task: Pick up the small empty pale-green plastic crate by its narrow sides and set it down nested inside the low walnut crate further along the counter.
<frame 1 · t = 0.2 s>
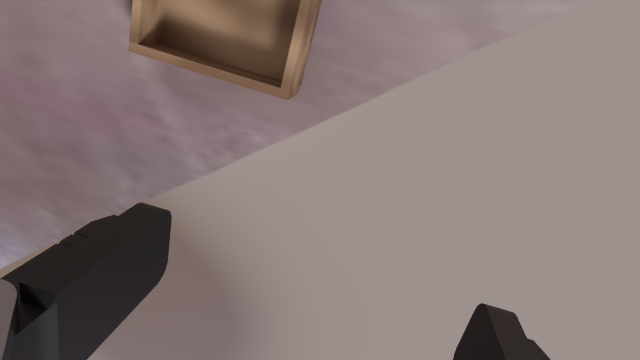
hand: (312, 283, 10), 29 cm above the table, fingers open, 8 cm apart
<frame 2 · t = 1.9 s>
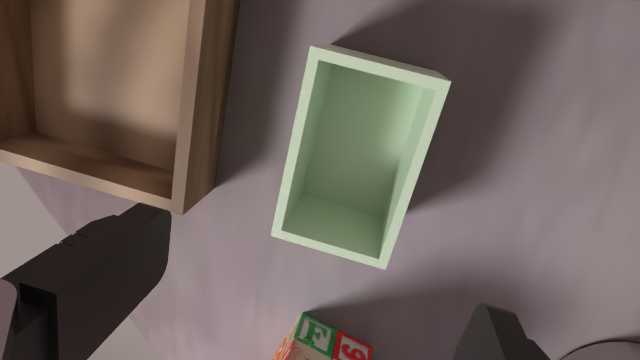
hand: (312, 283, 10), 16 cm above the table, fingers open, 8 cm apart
big crate: (127, 59, 25), on the table
small crate: (360, 138, 24), on the table
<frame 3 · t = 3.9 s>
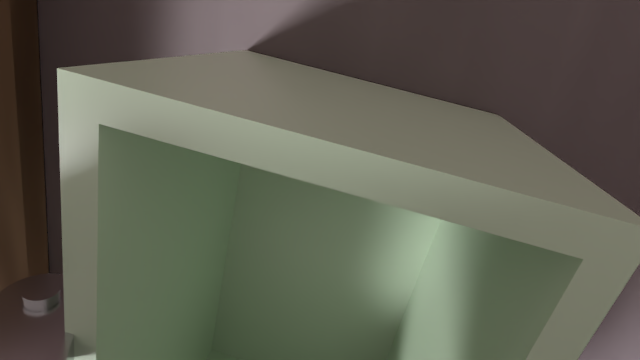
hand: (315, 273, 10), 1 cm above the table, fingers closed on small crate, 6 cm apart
small crate: (323, 251, 11), on the table, touching gripper
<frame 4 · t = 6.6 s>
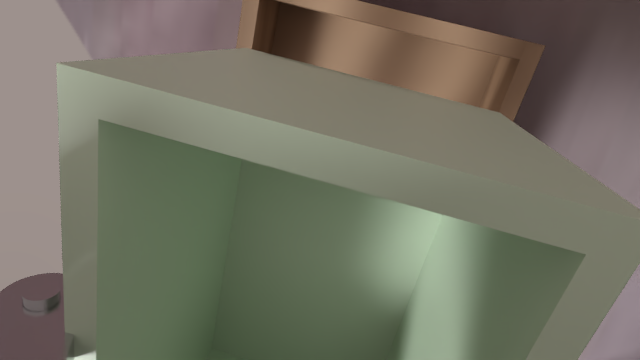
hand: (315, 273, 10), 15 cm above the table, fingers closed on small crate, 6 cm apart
big crate: (357, 136, 25), on the table
small crate: (323, 249, 11), point 14 cm above the table, touching gripper
when the fingers open (4 cm above the table, at t = 9.6 s): small crate drops 2 cm, resting on big crate.
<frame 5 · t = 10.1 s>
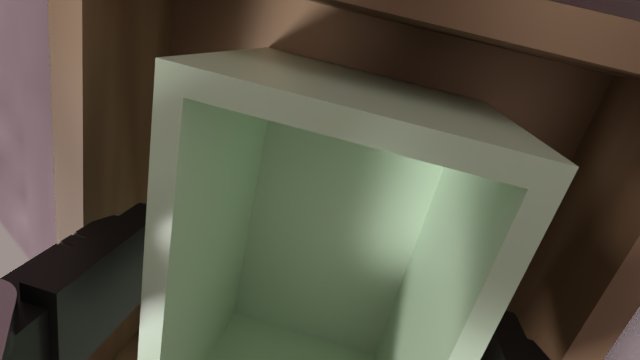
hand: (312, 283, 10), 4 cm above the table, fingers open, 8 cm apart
big crate: (334, 212, 14), on the table
small crate: (333, 222, 13), point 1 cm above the table, touching big crate
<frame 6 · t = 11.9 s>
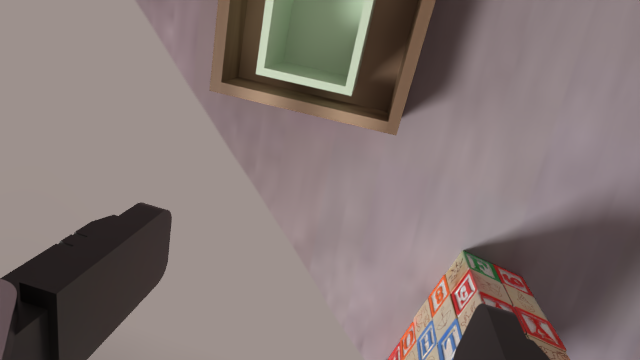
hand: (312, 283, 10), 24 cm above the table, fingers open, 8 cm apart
stack of blocks: (433, 339, 40), on the table
big crate: (330, 8, 30), on the table
small crate: (330, 7, 29), point 1 cm above the table, touching big crate
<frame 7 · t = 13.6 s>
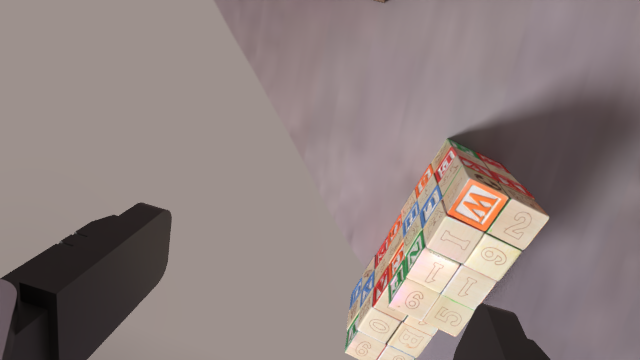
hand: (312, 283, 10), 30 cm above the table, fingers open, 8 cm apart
stack of blocks: (419, 233, 42), on the table
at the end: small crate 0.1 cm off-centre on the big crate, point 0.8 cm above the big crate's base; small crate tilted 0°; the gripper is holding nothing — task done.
